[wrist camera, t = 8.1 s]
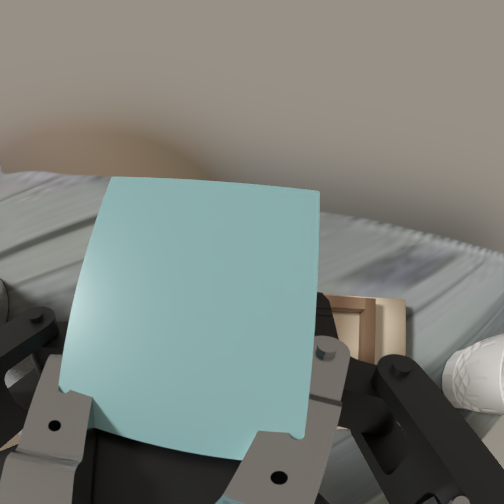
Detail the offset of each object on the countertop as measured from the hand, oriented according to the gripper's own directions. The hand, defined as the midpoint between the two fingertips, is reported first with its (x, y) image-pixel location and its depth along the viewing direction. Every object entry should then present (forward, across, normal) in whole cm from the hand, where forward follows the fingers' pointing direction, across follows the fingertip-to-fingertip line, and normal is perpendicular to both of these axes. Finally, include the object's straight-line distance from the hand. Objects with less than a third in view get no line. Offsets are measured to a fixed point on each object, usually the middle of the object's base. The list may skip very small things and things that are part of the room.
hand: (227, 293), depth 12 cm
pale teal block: (+2, 0, +5) cm, 5 cm away
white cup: (+11, -24, +15) cm, 30 cm away
